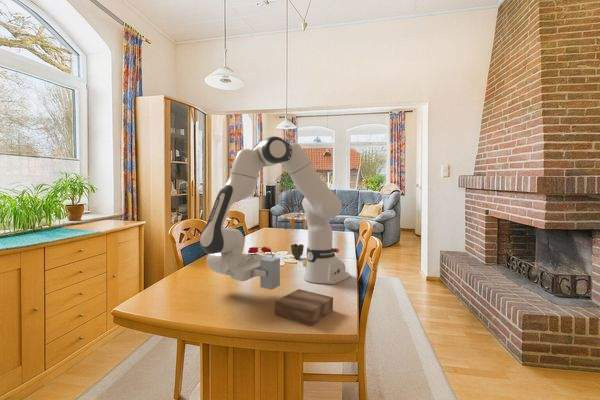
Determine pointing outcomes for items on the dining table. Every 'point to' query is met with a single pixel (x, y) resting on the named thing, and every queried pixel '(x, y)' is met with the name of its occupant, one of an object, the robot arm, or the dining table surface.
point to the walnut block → (304, 307)
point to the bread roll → (304, 262)
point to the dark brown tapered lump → (297, 250)
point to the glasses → (255, 249)
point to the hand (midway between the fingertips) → (272, 271)
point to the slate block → (270, 272)
